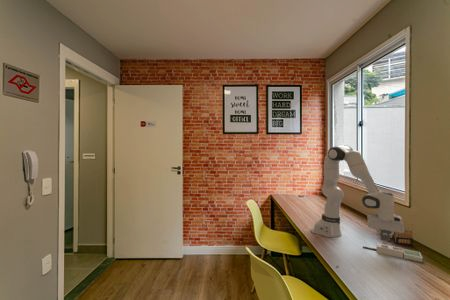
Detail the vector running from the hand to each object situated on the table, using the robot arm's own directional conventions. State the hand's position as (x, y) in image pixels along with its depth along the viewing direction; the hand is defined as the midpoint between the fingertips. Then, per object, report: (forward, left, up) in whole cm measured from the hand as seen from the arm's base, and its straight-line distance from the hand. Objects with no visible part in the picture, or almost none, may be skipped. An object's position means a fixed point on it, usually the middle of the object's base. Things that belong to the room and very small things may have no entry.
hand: (384, 236), depth 154 cm
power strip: (-1, 0, -11) cm, 11 cm away
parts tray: (+15, +1, -11) cm, 18 cm away
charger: (0, 0, -5) cm, 5 cm away
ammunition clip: (+13, +22, -11) cm, 28 cm away
